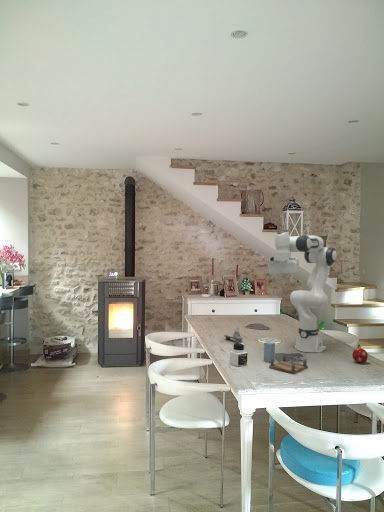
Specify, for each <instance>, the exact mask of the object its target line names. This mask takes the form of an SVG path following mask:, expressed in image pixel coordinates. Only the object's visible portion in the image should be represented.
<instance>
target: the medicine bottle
mask: <svg viewBox="0 0 384 512" xmlns="http://www.w3.org/2000/svg"><path fill="white" fill-rule="evenodd" d="M229 364H231V365H233V366H235V367H242V366H243V367H244V366H247V365H248V351H245V344H244V343H242V342H240V343H236V342H235V343H233V350H232V351H230V352H229Z"/></svg>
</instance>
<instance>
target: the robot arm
mask: <svg viewBox="0 0 384 512" xmlns="http://www.w3.org/2000/svg"><path fill="white" fill-rule="evenodd" d="M274 236H275V238H274V247H275V255H273V256H271V257H268V264H267V268H268V269H267V270H268V273H269V274H273V276H274V277H275V281H276V282H279V281H280V277H279V274H290V275H289V276H290V277H289V278H288V281H289V282H293V278H294V277H295V274H299V273H300V271H301V270H300V265H299V263H300V261H299V258H297V257H291V254H292V253H301V252H302V253H303V258H304V260H305V261H306V262H307V263H310V264H315V266H314V267H313V268H312V270H311V273H310V274H309V277H308V278H307V281H306V283H307V287H308V288H309V289H310V290H301V289H300V290H293V291H292V292H291V293H290V295H289V300H290V303H291V304H292V306H293V307H294V308H295V309H296V311H297V313H298V317H299V318H298V319H299V324H298V326H299V327H298V334H297V335H296V340H295V342H296V343H295V345H294V348H295V349H296V350H297V351H300V352H303V353H323V352H324V350H326V349H327V346H325V345H323V343H324V342H323V338H322V337H321V336H320V334H319V332H320V328H318V319H317V318H318V317H317V316H316V315H315V313H313V312H312V311H311V309H325V308H326V307H327V306H328V304H329V297H328V295H327V294H326V293H325V291H324V288H325V286H326V285H325V284H326V282H327V279H328V277H329V274H330V273H329V272H330V267H331V266H332V265H333V264H334V263H335V262H336V261H337V258H338V252H337V250H336V249H335V248H334V247H329V246H328V247H325V246H324V244H325V242H324V239H323V238H322V237H320V236H319V235H318V236H317V235H312V234H311V235H309V234H308V235H306V234H303V235H295V236H291V235H290V232H289V231H288V230H280V231H278V232H276V233H275V235H274Z"/></svg>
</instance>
